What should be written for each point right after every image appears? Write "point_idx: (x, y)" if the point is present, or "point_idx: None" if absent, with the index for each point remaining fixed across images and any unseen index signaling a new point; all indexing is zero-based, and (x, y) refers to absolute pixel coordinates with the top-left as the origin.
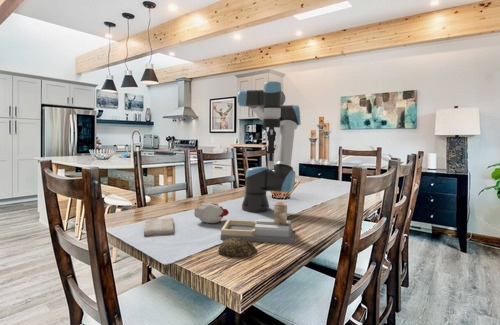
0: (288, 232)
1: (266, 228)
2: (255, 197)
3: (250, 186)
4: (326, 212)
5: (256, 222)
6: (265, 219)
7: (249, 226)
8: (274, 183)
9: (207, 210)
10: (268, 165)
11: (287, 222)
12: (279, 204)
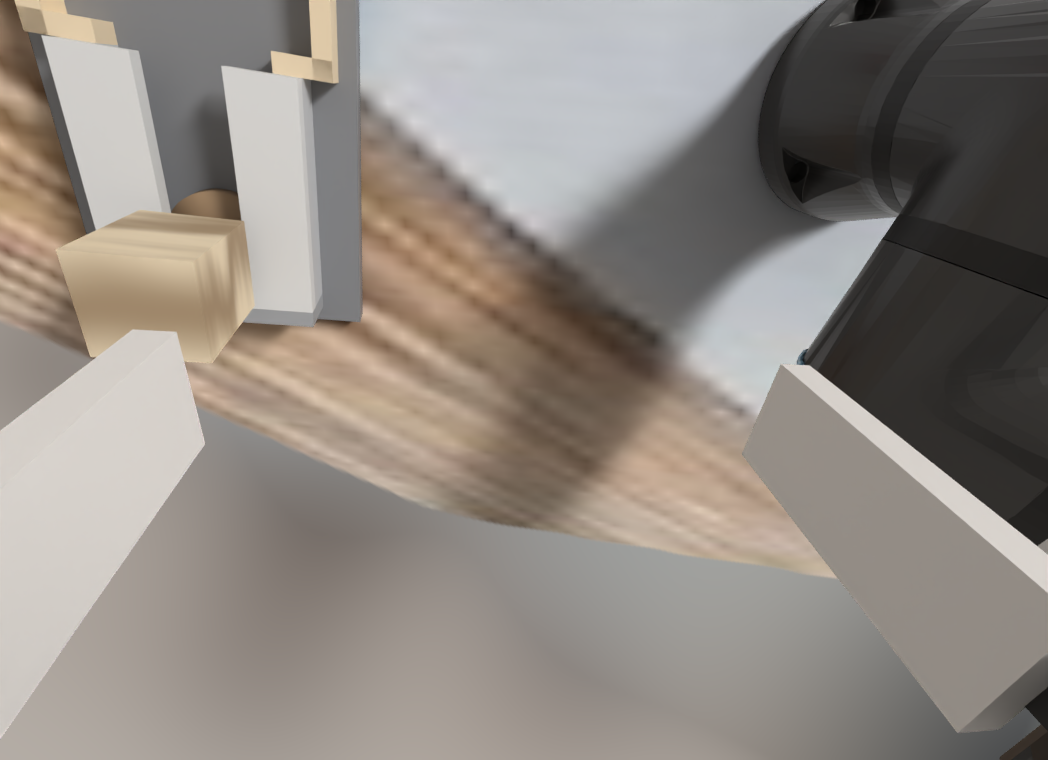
0: None
1: (76, 140)
2: (867, 103)
3: (1008, 37)
4: (681, 499)
5: (288, 70)
6: (294, 151)
7: (298, 6)
8: (861, 322)
9: None
10: (90, 383)
11: (260, 304)
12: (89, 297)
